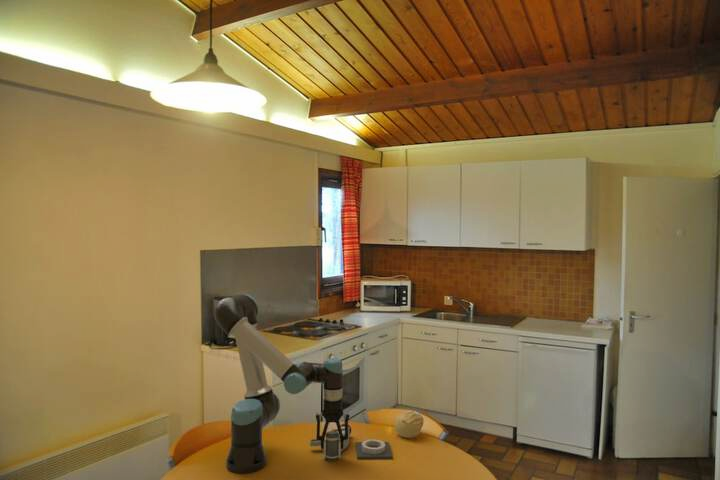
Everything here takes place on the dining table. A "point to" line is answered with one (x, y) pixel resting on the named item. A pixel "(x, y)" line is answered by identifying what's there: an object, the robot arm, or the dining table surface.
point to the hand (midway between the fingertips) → (332, 456)
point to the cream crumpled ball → (409, 424)
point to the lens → (332, 445)
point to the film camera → (345, 443)
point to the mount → (373, 450)
